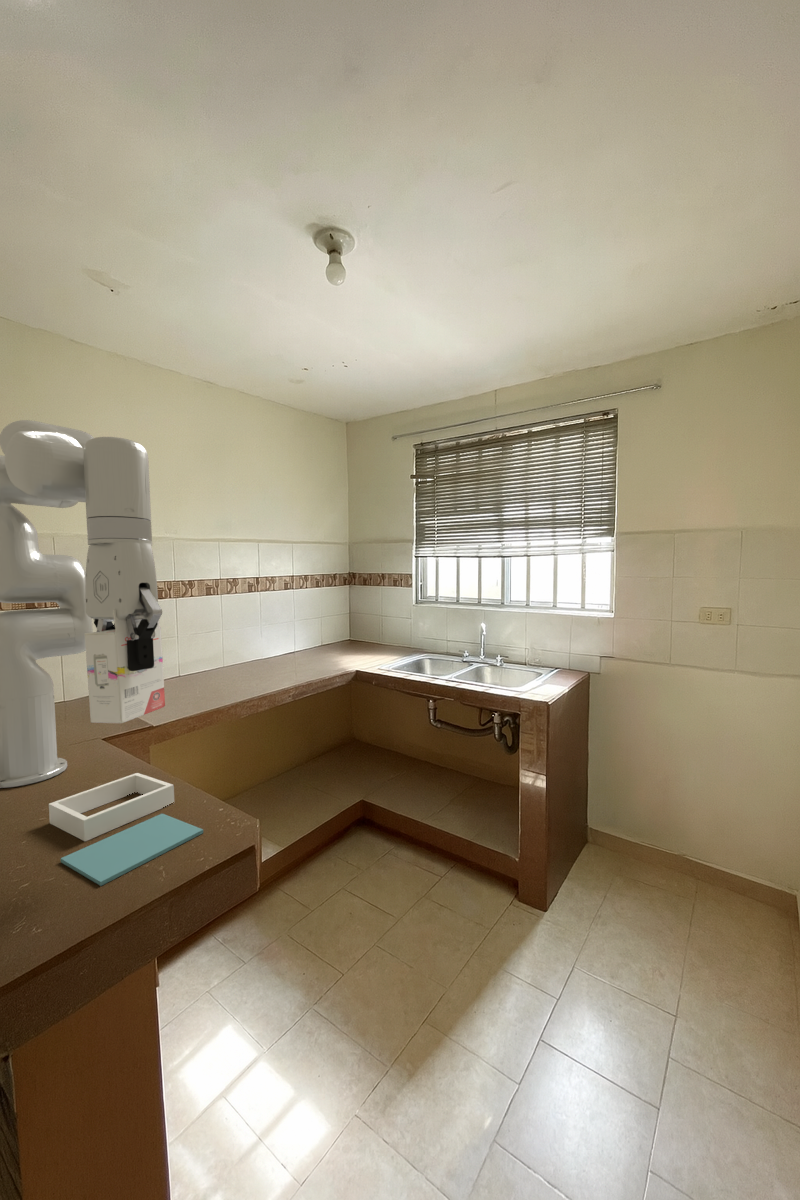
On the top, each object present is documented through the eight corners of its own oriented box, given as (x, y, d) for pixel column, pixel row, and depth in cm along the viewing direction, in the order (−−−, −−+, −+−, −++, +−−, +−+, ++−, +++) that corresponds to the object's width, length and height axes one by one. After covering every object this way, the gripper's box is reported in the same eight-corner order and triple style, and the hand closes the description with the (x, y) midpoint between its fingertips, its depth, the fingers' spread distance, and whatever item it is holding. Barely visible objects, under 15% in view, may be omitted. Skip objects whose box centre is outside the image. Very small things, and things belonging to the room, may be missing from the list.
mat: (60, 862, 63) (60, 858, 63) (162, 816, 75) (162, 813, 75) (100, 886, 58) (100, 881, 58) (203, 832, 70) (203, 829, 70)
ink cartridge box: (136, 706, 71) (131, 605, 70) (166, 707, 70) (161, 604, 69) (87, 723, 62) (81, 608, 62) (120, 724, 61) (115, 608, 61)
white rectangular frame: (49, 823, 74) (48, 803, 74) (138, 789, 85) (137, 772, 85) (85, 841, 68) (83, 820, 68) (174, 802, 80) (173, 784, 79)
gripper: (58, 537, 66) (64, 667, 67) (128, 526, 57) (135, 677, 58) (114, 540, 73) (120, 659, 73) (185, 531, 64) (191, 667, 64)
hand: (126, 666), depth 66 cm, fingers closed on ink cartridge box, 6 cm apart
